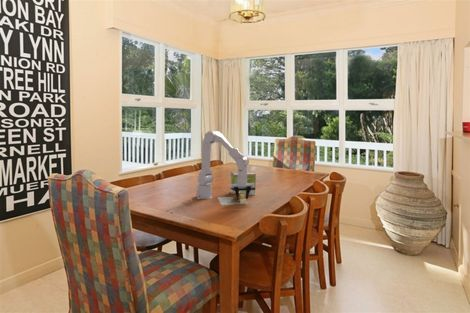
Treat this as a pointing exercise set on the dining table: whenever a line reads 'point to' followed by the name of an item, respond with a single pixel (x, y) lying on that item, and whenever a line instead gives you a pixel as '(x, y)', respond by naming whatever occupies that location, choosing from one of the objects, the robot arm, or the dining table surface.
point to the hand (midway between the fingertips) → (242, 198)
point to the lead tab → (241, 196)
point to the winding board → (232, 199)
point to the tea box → (250, 179)
